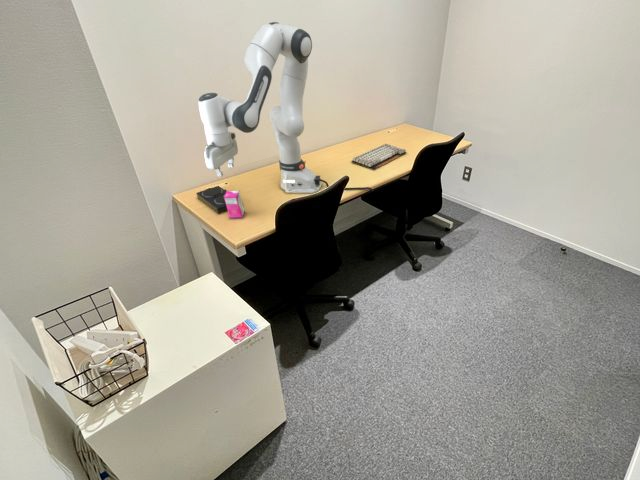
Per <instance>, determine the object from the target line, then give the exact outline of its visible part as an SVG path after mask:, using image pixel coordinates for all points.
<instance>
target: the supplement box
mask: <svg viewBox="0 0 640 480" xmlns="http://www.w3.org/2000/svg"><path fill="white" fill-rule="evenodd" d="M226 191H227V192H226V194H225V195H224V200H225V203H226V206H227V210H228V211H227V213H228V217H229V219H243V218H244V215H245V214H246V213H245V212H246V211H245V209H244V205H243V201H242V196H241V193H240V190H226Z"/></svg>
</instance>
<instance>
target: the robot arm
mask: <svg viewBox="0 0 640 480" xmlns="http://www.w3.org/2000/svg"><path fill="white" fill-rule="evenodd" d="M312 50H313V41H312V37H311V35H310V34H309V33H308V32H307V31H306V30H304V29H301V28H298V27H296V26H294V25H291V24H285V23H279V22H277V21H272V22H269V23H264V24H262V25H261V26H260V28H259V29H258V30H257V31H256V33H255V34H254V36H253V37H252V39H251V40H250V43H249V45H248V46H247V49H246V51H245V53H244V58H243V60H244V65H245V67H246V70H247V71H248V72H249V74H250V75H251V77H252V82H251V85H250V88H249V91H248V93H247V97H246V99H245V100H244V101H242V102H239V101H237V100H234V99H229V98H227V97H223V96H222V95H219V94H218V93H216V92H208V93H204V94H202V95H201V96H199V98H198V101H197V102H198V103H197V104H198V112H199V117H200V120H201V122H202V124H203V127H204V135H205V139H206V144H207V145H206V146H205V149H204V153H203V155H204V156H203V157H204V161H205V162H204V163H205V167H206V169H208V170H211V171H215V173H216V175H217V177H218V178H222V177H223V176H224V171H221V167H222V166H223V165H224V164H225V163H227V162H228V163H227V166H228V168H229V169H233V168H234V166H235V165H234V162H235V161H234V160H235V157H236V156H237V155H238V152H239V149H238V142H237V139H236V138H237V134H236V132H232V131H229V127H233V128H235V129H237V130H239V131H240V132H242V133H246V134H249V133H252V132H254V131H255V130H256V129H257V128H258V126H259V124H260V120H261V113H262V109H263V106H264V103H265V100H266V98H267V95H268V93H269V89H270V86H271V84H272V79H273V70H274V67H275V65H276V63H277V61H278V59H279V56H280V55H281V56H284V62H283V67H282V70H281V71H282V73H281V76H280V84H279V90H278V91H279V92H278V93H279V94H278V95H279V99H280V102H279V103H280V105H275V106H273V107H272V108H271V109H269V113H268V119H269V121H270V123H271V127H272V130H273V134H274V138H275V141H276V145H277V150H278V158H279V160H278V162H279V164H278V165H279V170H280V184H279V185H280V186H279V187H280V189H282V190H284V192H285V193H286V194H315V193H317V192H318V191H320V189H321V188H322V183H324V184H325V185H326V187H327V188H328V186H330V185H329V183H328V182H327V181H326V180H324V179H321V175H317V174H316V173H315V172H314V171H312V170H311V169H310V168H308V167H307V166H306V163H307V162H306V160H303V159H302V154H301V153H302V152H301V144H300V142H299V139H298V137H300V136H301V135H302V134H303V133H304V130H305V123H304V119H303V118H304V117H303V102H304V101H303V100H304V94H305V89H306V82H307V79H308V71H309V57H310V56H311V53H312ZM344 188H345V191H347V190H349V191H350V190H369V191H371V192H374V189H373V188H372V187H369V186H364V187H344Z"/></svg>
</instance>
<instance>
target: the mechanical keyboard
mask: <svg viewBox="0 0 640 480" xmlns="http://www.w3.org/2000/svg"><path fill="white" fill-rule="evenodd" d="M405 154H407V150H406V148H403V147H402V148H400V147H399V146H398V147H397V146H395V145H391V144H389V143H384V144H382V145H379V146H378V147H374V148H372V149H370V150H368V151H366V152H363V153H361V154H359V155H356V156H355V157H352V160H351V163H352V164H355V165H358V166H361V167H364V168H366V169H369V170H372V171H376V169H379V168H381V167H383V166H384V165H386V164H388V163H390V162H392V161H393V160H396V159H397V158H399V157H401V156H403V155H405Z"/></svg>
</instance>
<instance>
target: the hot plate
mask: <svg viewBox="0 0 640 480" xmlns="http://www.w3.org/2000/svg"><path fill="white" fill-rule="evenodd" d="M227 191H228V190H227V189H226V188H225V189H224V188H223V187H221V186H219V185H216V186H213V187H208V188H205V189H204V190H201V191H198V192H195V193H196V197H197V199H198V200H200V202H202V203H204V205H206V206H207V207H209V208H210V209H211V210H213V211H214V212H215V213H217V214H218V215H219V214H223V213H226V212H228V210H227V206H226V203H225V200H224V195H225V194H226V192H227Z"/></svg>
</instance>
